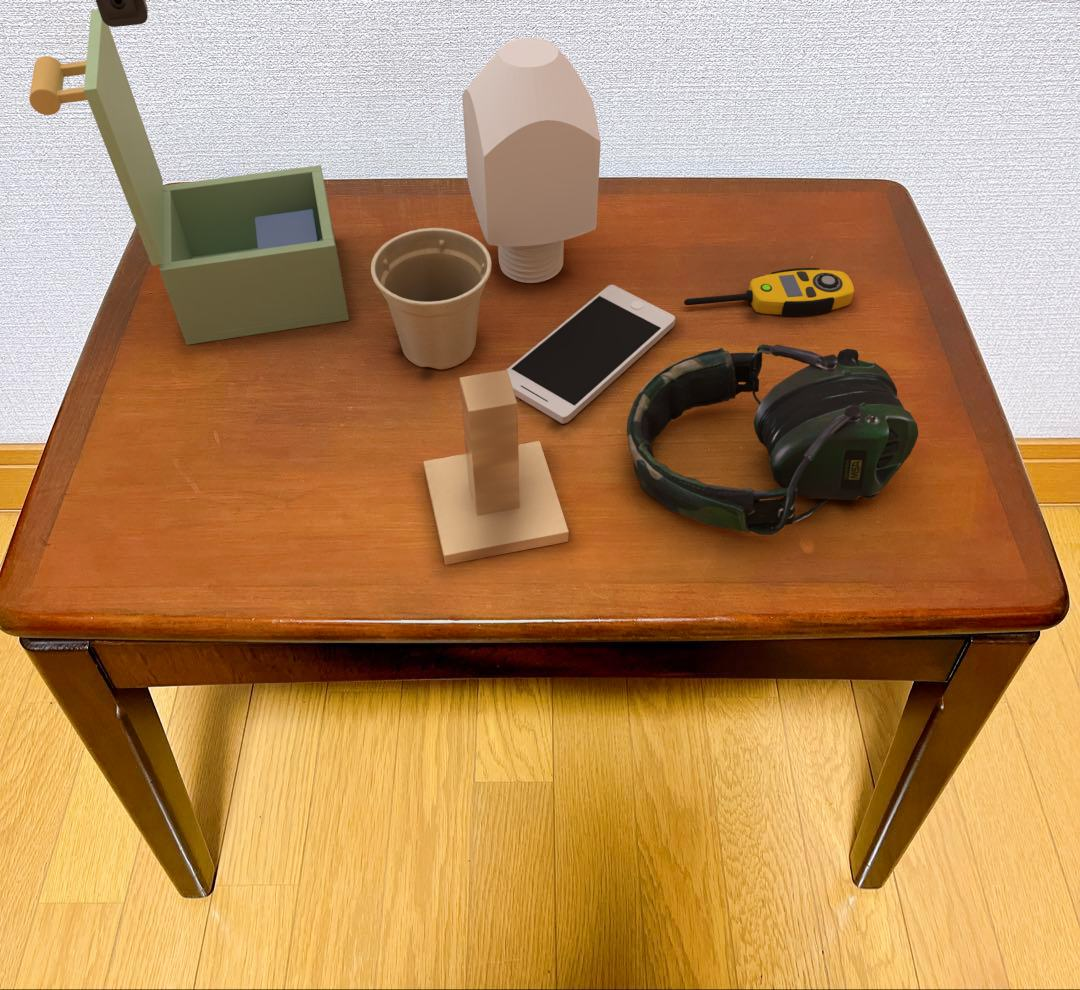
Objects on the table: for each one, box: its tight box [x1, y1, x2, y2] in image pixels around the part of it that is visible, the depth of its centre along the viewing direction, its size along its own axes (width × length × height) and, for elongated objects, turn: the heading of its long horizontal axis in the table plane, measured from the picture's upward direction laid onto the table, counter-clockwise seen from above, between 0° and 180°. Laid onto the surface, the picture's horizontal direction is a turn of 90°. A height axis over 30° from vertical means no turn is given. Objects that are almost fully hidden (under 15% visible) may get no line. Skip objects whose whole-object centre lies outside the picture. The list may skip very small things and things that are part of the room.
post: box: [423, 369, 570, 566], centre depth 70 cm, size 9×9×12 cm
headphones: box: [626, 343, 919, 536], centre depth 74 cm, size 13×13×20 cm
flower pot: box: [370, 227, 492, 370], centre depth 82 cm, size 9×9×9 cm
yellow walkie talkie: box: [683, 267, 855, 317], centre depth 89 cm, size 5×2×15 cm
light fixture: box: [461, 37, 602, 284], centre depth 85 cm, size 9×9×20 cm
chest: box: [159, 164, 350, 346], centre depth 87 cm, size 14×12×8 cm
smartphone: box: [506, 284, 676, 424], centre depth 85 cm, size 7×15×1 cm, turn 140°
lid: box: [28, 8, 164, 267], centre depth 77 cm, size 15×12×6 cm
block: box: [255, 209, 319, 250], centre depth 88 cm, size 5×5×5 cm
